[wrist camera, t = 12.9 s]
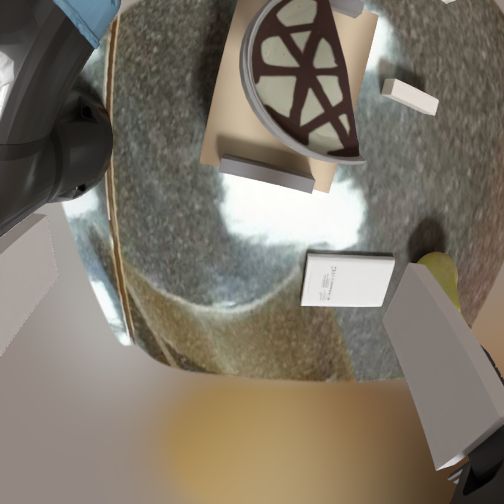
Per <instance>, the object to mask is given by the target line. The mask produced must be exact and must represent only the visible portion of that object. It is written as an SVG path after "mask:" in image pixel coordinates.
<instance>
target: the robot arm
mask: <svg viewBox="0 0 504 504" xmlns="http://www.w3.org/2000/svg"><path fill="white" fill-rule="evenodd" d="M120 4H121V0H0V237H1V236H3V235H4V234H5V233H6V232H7V231H9V230H10V229H11V228H13V227H14V226H15V225H16V224H18V223H19V222H21V221H22V220H23V219H25V218H26V217H27V216H29V215H30V214H31V213H33V212H34V211H35V210H37V209H38V208H40V207H41V206H43V205H44V204H46V203H54V202H63V201H69V200H73V199H76V198H78V197H80V196H82V195H83V194H85V193H86V192H88V191H89V190H91V189H92V188H93V187H95V186H96V185H97V184H98V182H99V181H100V180H101V179H102V177H103V176H104V174H105V172H106V170H107V168H108V165H109V163H110V159H111V155H112V147H113V135H112V128H111V124H110V120H109V117H108V115H107V113H106V111H105V109H104V107H103V106H102V104H101V103H100V101H99V100H98V99H97V98H96V97H95V96H94V95H92V94H91V93H90V92H88V91H86V90H84V89H81V88H77V87H73V85H74V83H75V81H76V79H77V77H78V76H79V74H80V72H81V70H82V69H83V67H84V65H85V64H86V62H87V60H88V59H89V57H90V56H91V54H92V52H93V51H94V49H97V48H98V47H99V45H100V43H99V41H100V39H101V38H102V36H103V34H104V33H105V31H106V29H107V28H108V26H109V25H110V23H111V21H112V20H113V18H114V17H115V15H116V14H117V12H118V10H119V8H120ZM58 278H59V276H58V271H57V267H56V263H55V257H54V253H53V247H52V242H51V236H50V230H49V224H48V217H47V215H42V214H34V213H33V214H31V215H30V216H29V217H27V218H26V219H25V220H23V221H22V222H21V223H19V224H18V225H17V226H16V227H14V228H13V229H12V230H11V231H9V232H8V233H7V234H6V235H5V236H3V237H2V238H1V239H0V357H1V356H2V354H3V352H4V351H5V349H6V348H7V346H8V345H9V343H10V342H11V340H12V339H13V338H14V336H15V334H16V333H17V332H18V330H19V329H20V328H21V326H22V325H23V323H24V322H25V321H26V319H27V318H28V316H29V315H30V314H31V312H32V311H33V310H34V308H35V307H36V306H37V304H38V303H39V302H40V300H41V299H42V298H43V296H44V295H45V294H46V293H47V291H48V290H49V289H50V288H51V286H52V285H53V284H54V283H55V282H56V280H57V279H58ZM382 322H383V324H384V326H385V329H386V331H387V334H388V336H389V338H390V341H391V343H392V345H393V348H394V350H395V353H396V355H397V358H398V360H399V363H400V365H401V368H402V370H403V373H404V376H405V378H406V381H407V383H408V386H409V389H410V392H411V394H412V397H413V400H414V402H415V405H416V408H417V411H418V414H419V417H420V420H421V423H422V426H423V429H424V432H425V435H426V438H427V441H428V445H429V448H430V451H431V454H432V458H433V461H434V465H435V468H436V470H439V469H442V468H445V467H448V466H451V465H455V464H456V463H457V462H459V461H460V460H461V459H463V458H464V457H465V456H467V455H468V457H469V461H468V462H467V463H465V464H464V465H462V466H461V467H460V468H458V469H457V470H455V471H454V472H453V473H451V474H450V476H449V477H448V480H451V479H453V478H454V477H456V476H457V475H459V474H460V473H461V475H460V476H459V477H458V478H456V479H455V480H454V481H453V482H454V483H456V484H457V486H456V489H455V492H454V495H453V497H452V499H451V502H450V504H504V380H503V378H502V377H501V374H500V372H499V371H498V369H497V368H495V363H494V362H493V360H492V358H491V357H490V355H489V353H488V352H487V351H486V350H485V349H484V348H483V347H482V346H481V345H480V344H479V342H478V341H477V339H476V338H475V336H474V334H473V333H472V331H471V330H470V328H469V327H468V325H467V323H466V322H465V320H464V319H463V317H462V316H461V314H460V313H459V311H458V310H457V309H456V307H455V306H454V304H453V303H452V301H451V300H450V298H449V297H448V296H447V294H446V293H445V291H444V290H443V289H442V287H441V286H440V285H439V283H438V282H437V280H436V279H435V278H434V276H433V275H432V274H431V272H430V271H429V270H428V269H427V267H426V266H425V265H422V264H415V263H408V265H407V267H406V270H405V272H404V274H403V277H402V279H401V281H400V284H399V286H398V288H397V290H396V292H395V294H394V297H393V299H392V301H391V303H390V305H389V307H388V309H387V311H386V313H385V315H384V317H383V319H382Z"/></svg>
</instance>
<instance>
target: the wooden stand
mask: <svg viewBox="0 0 504 504" xmlns="http://www.w3.org/2000/svg"><path fill="white" fill-rule="evenodd" d="M267 1H269V0H238V1H237V4H236V8H235V11H234V15H233V18H232V22H231V26H230V29H229V33H228V37H227V41H226V45H225V48H224V52H223V56H222V60H221V64H220V68H219V73H218V77H217V81H216V85H215V90H214V94H213V99H212V103H211V108H210V112H209V117H208V122H207V127H206V132H205V137H204V142H203V147H202V152H201V157H200V163H202V164H207V165H212V166H217V167H219V172H222V173H227V174H232V175H236V176H241V177H245V178H250V179H254V180H258V181H263V182H267V183H271V184H275V185H280V186H284V187H288V188H292V189H296V190H300V191H303V192H307V193H311V194H312V191H313V189H315V190H318V191H322V192H326V193H329V190H330V187H331V184H332V181H333V177H334V174H335V171H336V168H337V165H338V163H329V162H325V161H321V160H316V159H313V158H311V157H308V156H305V155H303V154H300V153H298V152H297V151H295V150H293V149H291V148H290V147H288V146H286V145H285V144H283V143H282V142H281V141H280V140H278V139H277V138H276V137H274V136H273V135H272V134H271V133H270V132H269V131H268V130H267V129H266V128H265V127H264V126H263V125H262V123H261V122H260V120H259V119H258V118H257V116H256V115H255V114H254V112H253V110H252V108H251V106H250V105H249V103H248V101H247V99H246V96H245V93H244V90H243V87H242V84H241V78H240V71H239V53H240V48H241V44H242V39H243V37H244V34H245V32H246V29H247V27H248V25H249V23H250V22H251V20H252V19H253V17H254V16H255V14H256V13H257V12H258V11H259V10H260V9H261V8H262V6H263V5H264V4H265V3H266V2H267ZM329 2H330V6H331V9H332V13H333V17H334V21H335V24H336V28H337V32H338V35H339V39H340V43H341V47H342V51H343V54H344V58H345V62H346V66H347V72H348V78H349V85H350V92H351V99H352V106H353V112H354V109H355V105H356V102H357V98H358V94H359V91H360V87H361V84H362V80H363V76H364V72H365V69H366V65H367V61H368V57H369V53H370V49H371V45H372V41H373V37H374V33H375V29H376V24H377V20H378V15H376V14H374V13H371V12H369V11H366V10H364V9H363V7H364V2H362V1H359V0H329Z"/></svg>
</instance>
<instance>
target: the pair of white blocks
mask: <svg viewBox="0 0 504 504" xmlns="http://www.w3.org/2000/svg"><path fill="white" fill-rule="evenodd" d="M442 1H443V2H445V3H449V2H452V1H455V0H442ZM381 94H382V95H384V96H386V97H389V98H391V99H393V100H396V101H398V102H400V103H402V104H405V105H407V106H409V107H411V108H413V109H415V110H417V111H419V112H422V113H425V114H429V115H434V116H435V113H436V109H437V106H438V102H439V100H437V99H436V98H434V97H432V96H430V95H428V94H426V93H424V92H422V91H420V90H418V89H416V88H414V87H412V86H410V85H408V84H406V83H404V82H402V81H399V80H397V79H385V81H384V85H383V89H382V92H381Z"/></svg>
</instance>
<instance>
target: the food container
mask: <svg viewBox="0 0 504 504" xmlns="http://www.w3.org/2000/svg"><path fill="white" fill-rule="evenodd" d="M239 71H240V78H241V84H242V87H243V90H244V93H245V96H246V99H247V101H248V103H249V105H250V106H251V108H252V110H253V112H254V114H255V115H256V116H257V118H258V119H259V120H260V122H261V123H262V125H263V126H264V127H265V128H266V129H267V130H268V131H269V132H270V133H271V134H272V135H273V136H274V137H276V138H277V139H278V140H280V141H281V142H282V143H283V144H285V145H286V146H288V147H290V148H291V149H293V150H295V151H297V152H298V153H300V154H303V155H305V156H308V157H311V158H313V159H316V160H321V161H325V162H329V163H338V164H349V165H351V164H363V162H366V160H365V159H364V158H363V157H362V156H361V155H360V154H359V143H358V139H357V134H356V128H355V120H354V113H353V106H352V99H351V92H350V85H349V78H348V72H347V66H346V62H345V58H344V54H343V51H342V47H341V43H340V39H339V35H338V32H337V28H336V24H335V21H334V17H333V13H332V9H331V6H330V2H329V0H269V1H267V2H266V3H265V4H264V5H263V6H262V8H261V9H260V10H259V11H258V12H257V13H256V14H255V16H254V17H253V19H252V20H251V22H250V23H249V25H248V27H247V29H246V32H245V34H244V37H243V39H242V44H241V48H240V53H239Z"/></svg>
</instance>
